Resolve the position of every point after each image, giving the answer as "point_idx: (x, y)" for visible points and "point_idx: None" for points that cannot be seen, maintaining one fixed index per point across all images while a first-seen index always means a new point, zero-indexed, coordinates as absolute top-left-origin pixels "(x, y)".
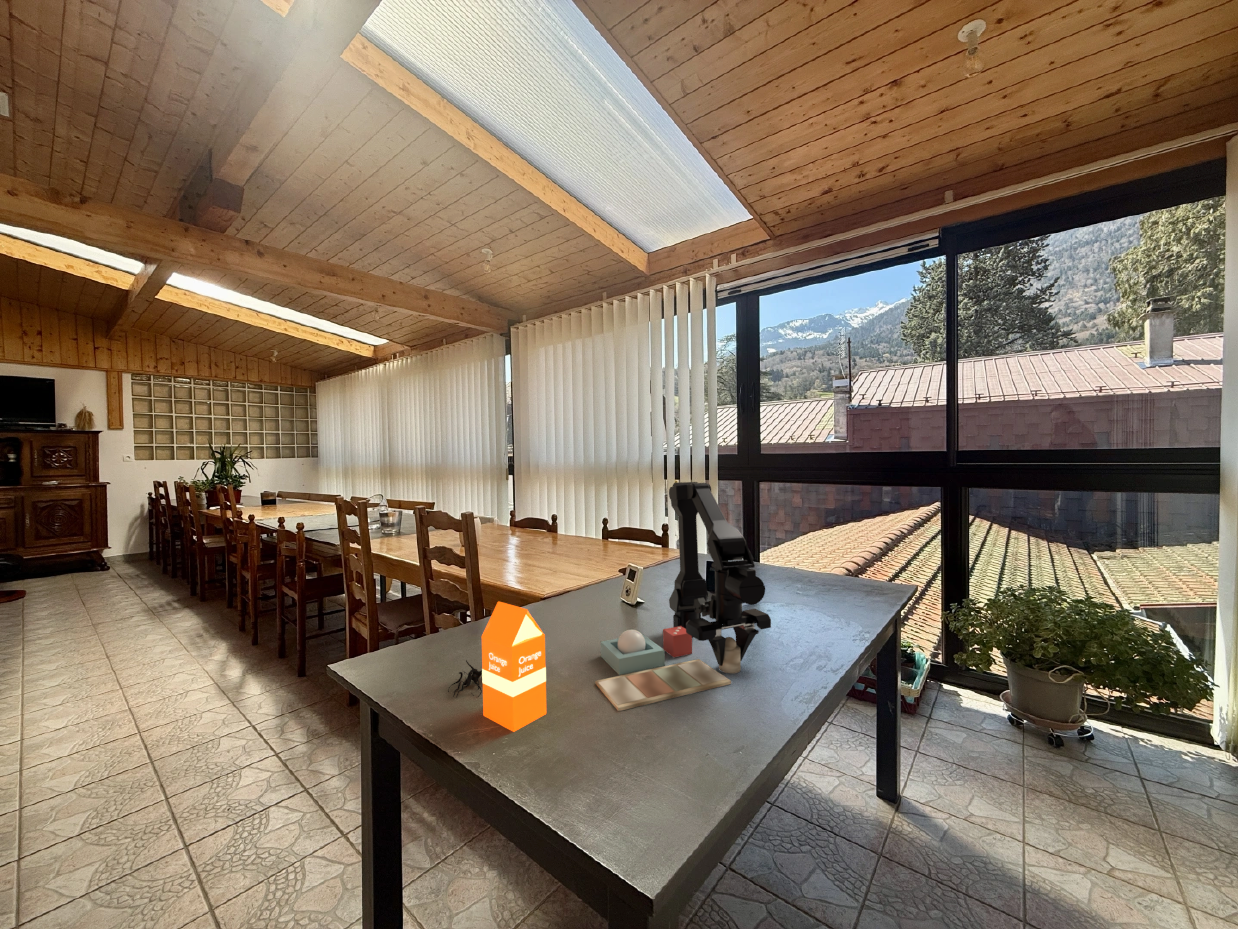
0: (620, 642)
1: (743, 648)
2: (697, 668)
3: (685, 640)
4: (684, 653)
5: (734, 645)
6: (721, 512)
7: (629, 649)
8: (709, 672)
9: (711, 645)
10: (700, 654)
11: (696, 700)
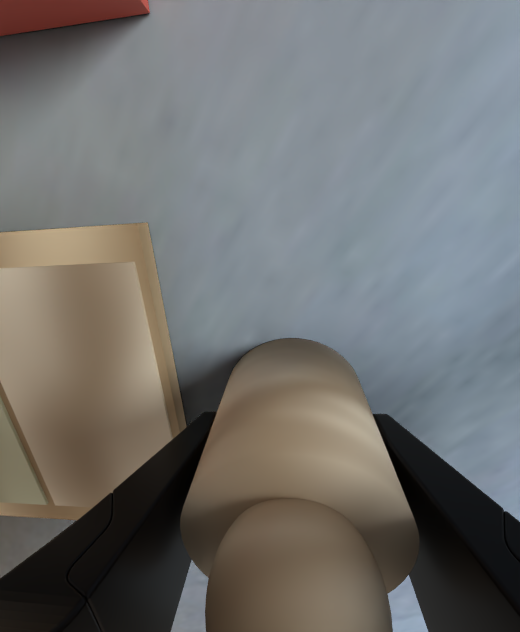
0: None
1: (421, 602)
2: (73, 365)
3: None
4: (50, 16)
5: None
6: None
7: None
8: (126, 434)
9: (63, 544)
10: (223, 64)
11: (20, 537)
